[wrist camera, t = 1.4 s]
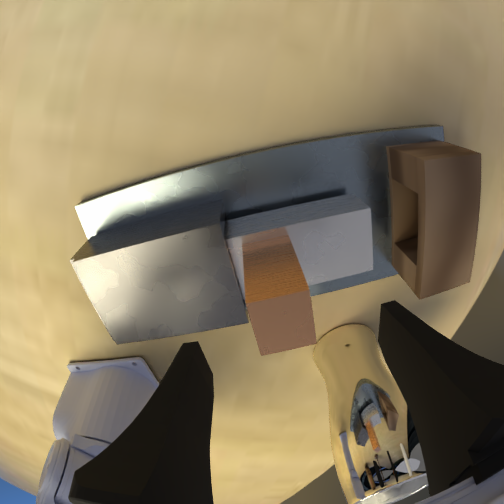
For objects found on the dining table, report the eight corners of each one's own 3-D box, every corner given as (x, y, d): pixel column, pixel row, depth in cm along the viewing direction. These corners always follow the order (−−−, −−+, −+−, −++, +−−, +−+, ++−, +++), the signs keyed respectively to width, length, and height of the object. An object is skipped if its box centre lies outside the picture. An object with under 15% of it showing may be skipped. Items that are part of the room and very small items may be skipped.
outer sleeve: (135, 324, 24) (120, 368, 19) (79, 203, 19) (44, 231, 14) (436, 256, 23) (469, 288, 18) (436, 124, 18) (481, 135, 13)
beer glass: (340, 308, 24) (409, 474, 11) (392, 332, 26) (460, 465, 13) (292, 362, 27) (323, 516, 13) (346, 378, 29) (387, 507, 15)
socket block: (391, 265, 22) (419, 299, 18) (386, 146, 18) (424, 160, 13) (438, 252, 21) (469, 282, 17) (438, 140, 17) (481, 153, 13)
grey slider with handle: (134, 297, 21) (100, 382, 14) (112, 249, 19) (61, 326, 12) (357, 249, 20) (411, 324, 13) (352, 193, 18) (418, 251, 11)
